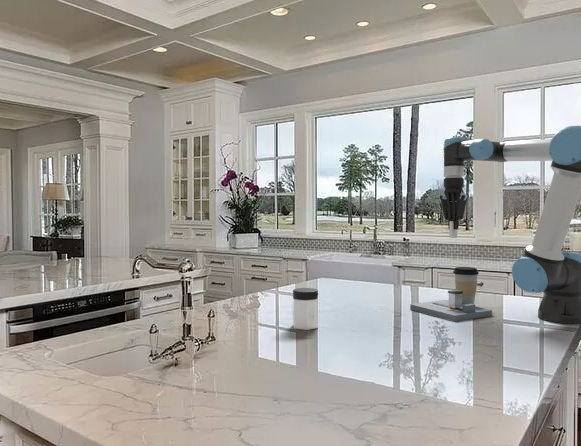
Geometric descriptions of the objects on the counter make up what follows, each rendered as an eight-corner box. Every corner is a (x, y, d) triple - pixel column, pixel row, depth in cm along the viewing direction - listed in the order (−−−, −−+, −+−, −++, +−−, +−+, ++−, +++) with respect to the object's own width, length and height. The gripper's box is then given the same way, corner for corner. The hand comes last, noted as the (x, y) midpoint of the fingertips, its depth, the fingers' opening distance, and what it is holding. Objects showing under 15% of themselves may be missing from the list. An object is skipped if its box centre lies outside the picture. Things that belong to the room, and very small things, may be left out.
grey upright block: (463, 307, 176) (463, 290, 176) (454, 308, 174) (455, 291, 174) (455, 305, 179) (455, 289, 179) (447, 306, 177) (447, 290, 177)
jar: (301, 331, 153) (301, 293, 152) (287, 326, 160) (286, 289, 159) (324, 327, 158) (324, 290, 157) (309, 322, 165) (309, 286, 164)
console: (491, 315, 173) (492, 302, 173) (455, 321, 165) (455, 307, 165) (445, 304, 193) (445, 293, 193) (410, 309, 184) (410, 297, 184)
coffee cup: (482, 309, 184) (482, 269, 183) (457, 309, 184) (457, 269, 184) (473, 304, 193) (473, 266, 193) (449, 304, 193) (449, 266, 193)
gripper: (473, 176, 188) (473, 238, 188) (448, 178, 199) (447, 236, 200) (459, 176, 184) (459, 239, 185) (434, 178, 196) (434, 237, 196)
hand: (453, 237), depth 192 cm, fingers closed
